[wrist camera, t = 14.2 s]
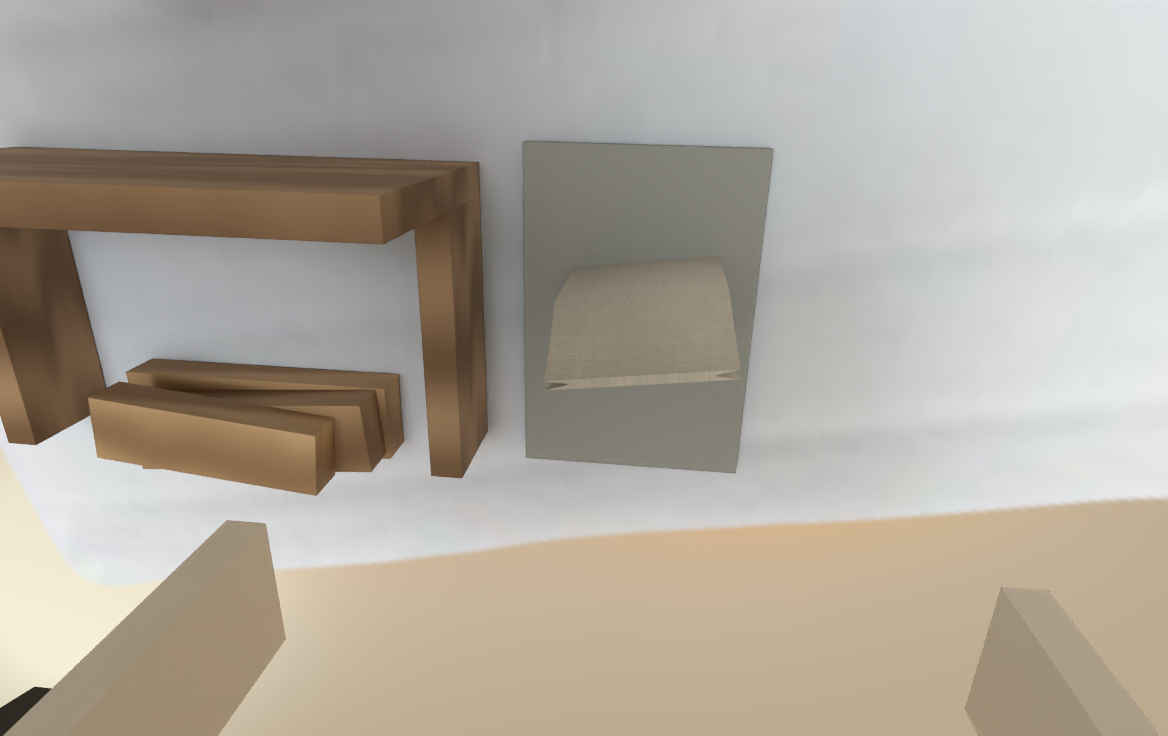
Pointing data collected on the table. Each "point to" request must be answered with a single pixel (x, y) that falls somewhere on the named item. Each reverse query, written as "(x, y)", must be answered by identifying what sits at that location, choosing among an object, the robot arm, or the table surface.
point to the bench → (240, 210)
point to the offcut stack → (249, 422)
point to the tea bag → (643, 325)
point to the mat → (627, 235)
